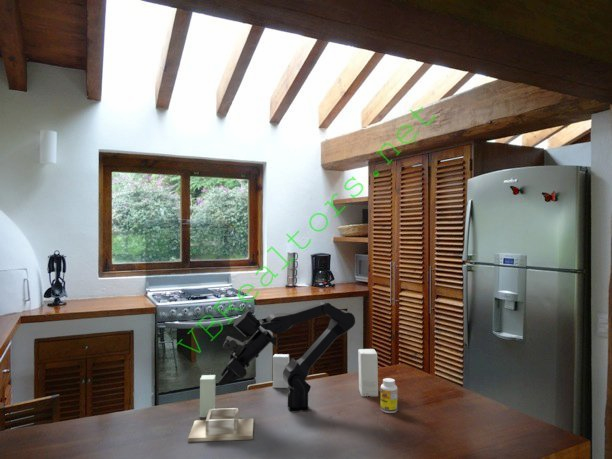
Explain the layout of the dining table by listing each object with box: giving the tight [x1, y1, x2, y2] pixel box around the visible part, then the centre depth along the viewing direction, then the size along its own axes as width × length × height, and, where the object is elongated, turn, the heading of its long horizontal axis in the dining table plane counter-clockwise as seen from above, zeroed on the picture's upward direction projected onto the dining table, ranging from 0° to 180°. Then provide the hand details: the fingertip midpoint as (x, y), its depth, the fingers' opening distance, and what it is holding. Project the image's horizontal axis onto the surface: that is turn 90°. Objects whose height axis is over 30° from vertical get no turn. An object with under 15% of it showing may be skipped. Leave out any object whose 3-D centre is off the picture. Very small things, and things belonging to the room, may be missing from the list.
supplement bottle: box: [380, 377, 398, 414], centre depth 144 cm, size 6×6×10 cm
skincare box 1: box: [272, 353, 290, 389], centre depth 167 cm, size 6×4×12 cm
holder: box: [187, 407, 254, 443], centre depth 128 cm, size 18×12×5 cm, turn 96°
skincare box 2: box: [357, 348, 379, 398], centre depth 161 cm, size 8×7×16 cm
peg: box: [199, 374, 217, 418], centre depth 140 cm, size 4×4×12 cm
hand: (220, 380), depth 140 cm, fingers open, 9 cm apart
